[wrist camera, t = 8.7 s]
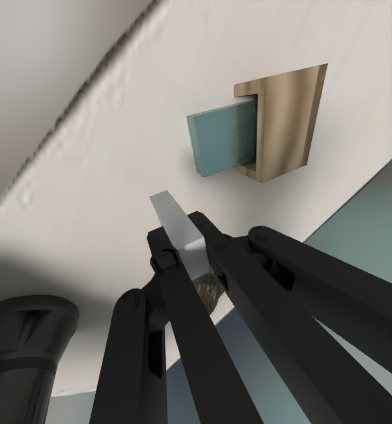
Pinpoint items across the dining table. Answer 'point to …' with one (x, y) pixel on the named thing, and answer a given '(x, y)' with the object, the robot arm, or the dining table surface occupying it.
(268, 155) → the overhang
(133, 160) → the dining table surface
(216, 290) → the turtle shell
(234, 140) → the teal tabbed plate
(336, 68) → the dining table surface
